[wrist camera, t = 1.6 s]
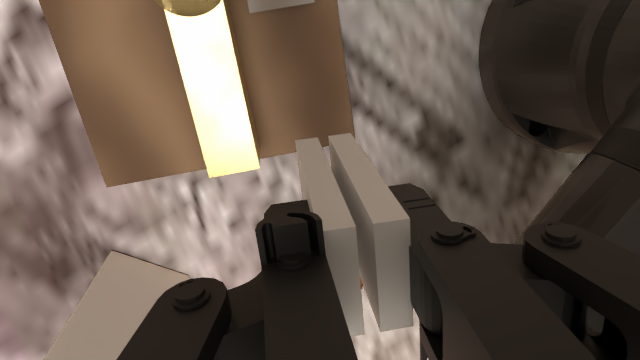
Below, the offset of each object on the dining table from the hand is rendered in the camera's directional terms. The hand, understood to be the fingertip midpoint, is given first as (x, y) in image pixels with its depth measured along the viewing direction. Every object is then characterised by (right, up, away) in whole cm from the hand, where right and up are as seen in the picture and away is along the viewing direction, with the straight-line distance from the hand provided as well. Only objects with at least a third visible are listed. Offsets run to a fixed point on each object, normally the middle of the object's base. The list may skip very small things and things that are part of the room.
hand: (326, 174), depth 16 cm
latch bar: (-7, +8, +12) cm, 16 cm away
